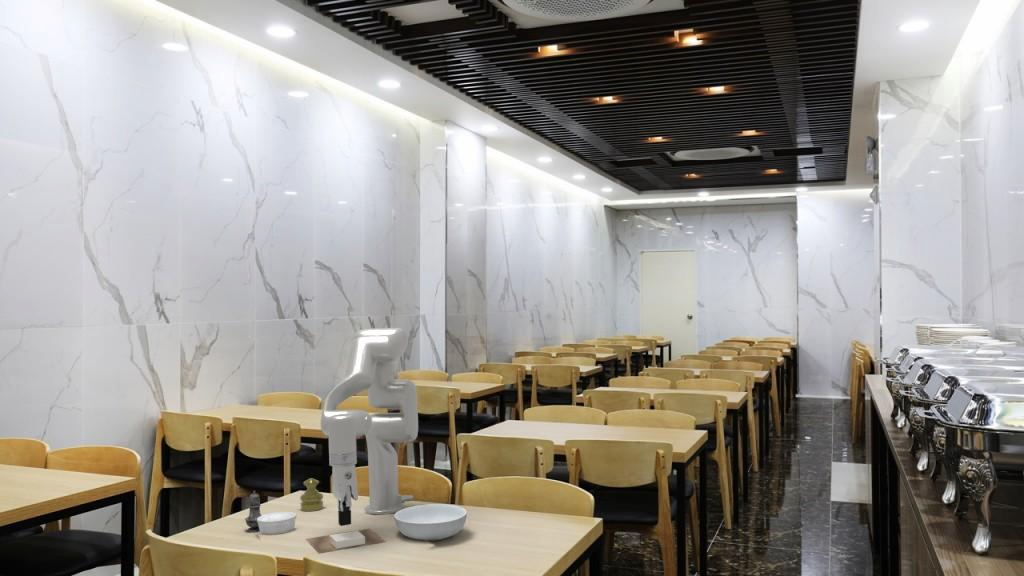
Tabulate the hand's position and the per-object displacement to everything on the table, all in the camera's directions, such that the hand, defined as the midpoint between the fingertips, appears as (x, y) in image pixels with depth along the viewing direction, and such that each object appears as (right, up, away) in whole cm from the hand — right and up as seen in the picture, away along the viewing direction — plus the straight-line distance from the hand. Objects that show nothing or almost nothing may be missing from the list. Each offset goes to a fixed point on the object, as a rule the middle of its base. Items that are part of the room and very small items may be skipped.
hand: (345, 524), depth 227 cm
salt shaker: (-32, -8, +21) cm, 39 cm away
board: (0, -6, +2) cm, 7 cm away
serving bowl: (+24, -6, +7) cm, 25 cm away
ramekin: (-23, -8, +16) cm, 29 cm away
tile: (-1, -4, +2) cm, 4 cm away
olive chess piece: (-20, -8, +44) cm, 49 cm away
